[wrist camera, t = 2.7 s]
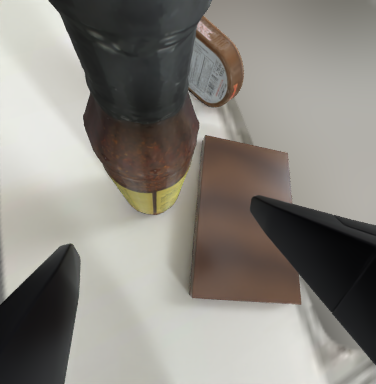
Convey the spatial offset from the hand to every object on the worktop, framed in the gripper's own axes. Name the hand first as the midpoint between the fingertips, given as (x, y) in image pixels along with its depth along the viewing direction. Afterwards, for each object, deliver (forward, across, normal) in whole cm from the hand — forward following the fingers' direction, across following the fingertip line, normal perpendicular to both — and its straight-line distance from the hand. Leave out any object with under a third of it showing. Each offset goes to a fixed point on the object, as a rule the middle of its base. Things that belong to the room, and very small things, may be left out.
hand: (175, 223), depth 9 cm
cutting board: (+9, -11, +9) cm, 17 cm away
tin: (+25, -10, -6) cm, 27 cm away
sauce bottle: (+13, 0, +5) cm, 14 cm away
